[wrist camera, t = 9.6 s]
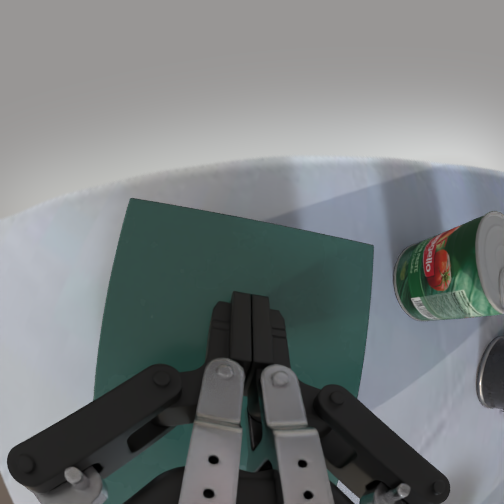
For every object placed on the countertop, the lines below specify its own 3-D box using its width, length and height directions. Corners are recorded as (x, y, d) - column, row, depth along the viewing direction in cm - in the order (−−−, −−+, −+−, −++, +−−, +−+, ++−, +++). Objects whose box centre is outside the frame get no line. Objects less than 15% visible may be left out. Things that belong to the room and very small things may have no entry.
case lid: (133, 202, 15) (129, 197, 14) (367, 248, 16) (374, 244, 15) (96, 498, 11) (92, 504, 10) (319, 519, 12) (324, 526, 11)
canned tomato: (395, 235, 28) (474, 196, 17) (449, 253, 29) (524, 226, 18) (388, 316, 26) (477, 307, 15) (444, 325, 27) (527, 318, 16)
